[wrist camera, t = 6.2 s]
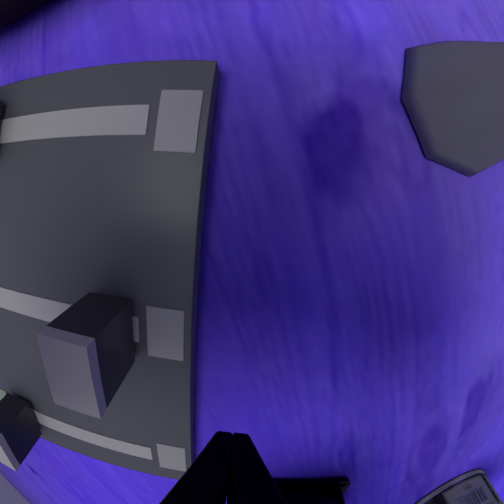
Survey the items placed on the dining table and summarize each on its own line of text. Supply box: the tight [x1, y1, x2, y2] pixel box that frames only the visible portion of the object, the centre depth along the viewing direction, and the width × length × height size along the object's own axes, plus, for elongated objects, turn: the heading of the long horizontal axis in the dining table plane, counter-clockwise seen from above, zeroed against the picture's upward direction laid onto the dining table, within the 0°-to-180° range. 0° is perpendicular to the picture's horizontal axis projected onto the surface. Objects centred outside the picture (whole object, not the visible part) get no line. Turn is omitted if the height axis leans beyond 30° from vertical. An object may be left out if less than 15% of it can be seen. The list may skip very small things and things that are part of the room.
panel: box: [0, 60, 220, 480], centre depth 13 cm, size 15×22×2 cm
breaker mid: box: [37, 292, 135, 419], centre depth 10 cm, size 2×3×4 cm, turn 174°
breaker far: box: [0, 393, 42, 471], centre depth 12 cm, size 2×3×4 cm, turn 174°
